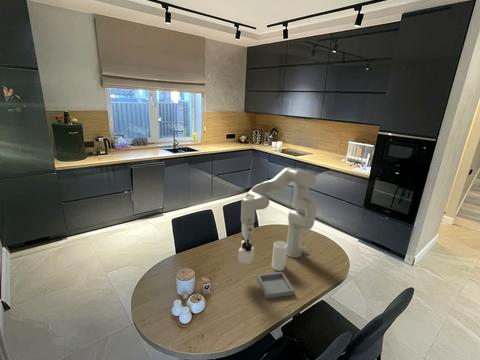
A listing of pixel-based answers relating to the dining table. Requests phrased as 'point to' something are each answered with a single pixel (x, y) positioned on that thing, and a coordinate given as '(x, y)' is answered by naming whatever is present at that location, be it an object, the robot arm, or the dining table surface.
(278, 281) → the tray
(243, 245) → the medicine bottle
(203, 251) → the dining table surface
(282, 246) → the cup
